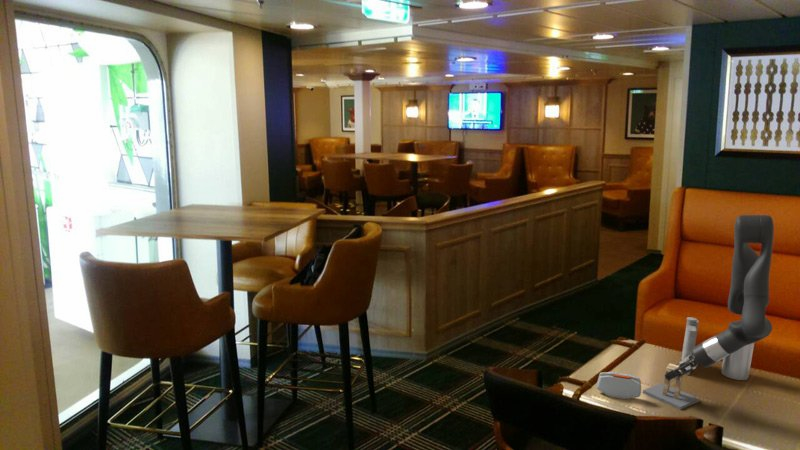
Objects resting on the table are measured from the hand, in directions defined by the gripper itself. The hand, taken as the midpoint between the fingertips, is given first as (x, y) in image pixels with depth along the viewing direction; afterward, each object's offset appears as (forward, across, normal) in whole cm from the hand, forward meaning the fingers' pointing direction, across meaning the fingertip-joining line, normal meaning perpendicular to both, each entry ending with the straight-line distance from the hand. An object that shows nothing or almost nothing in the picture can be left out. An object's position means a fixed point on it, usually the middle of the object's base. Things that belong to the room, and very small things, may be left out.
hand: (668, 374), depth 216 cm
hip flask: (+5, -32, +6) cm, 33 cm away
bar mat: (+4, 0, +7) cm, 8 cm away
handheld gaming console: (+15, +12, -4) cm, 19 cm away
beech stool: (+4, 0, +6) cm, 7 cm away
